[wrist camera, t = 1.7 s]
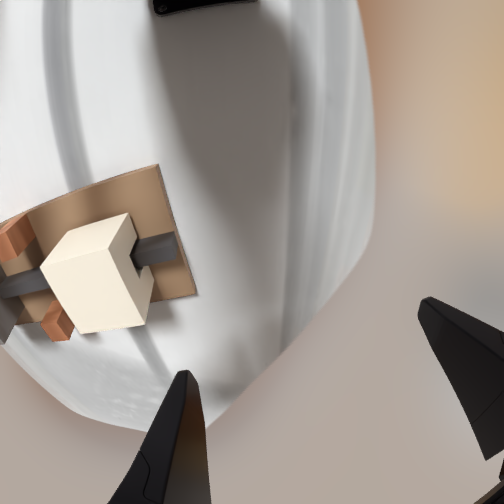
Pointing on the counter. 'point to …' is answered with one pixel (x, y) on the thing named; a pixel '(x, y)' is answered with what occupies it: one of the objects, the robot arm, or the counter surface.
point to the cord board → (77, 215)
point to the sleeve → (100, 276)
